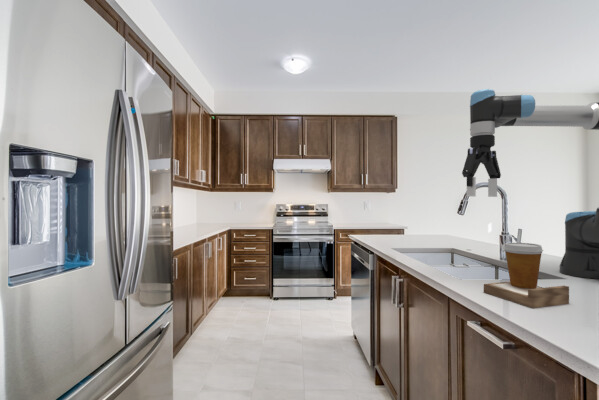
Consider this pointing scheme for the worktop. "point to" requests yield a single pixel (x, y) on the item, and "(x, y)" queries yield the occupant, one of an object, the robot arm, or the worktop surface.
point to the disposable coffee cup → (523, 264)
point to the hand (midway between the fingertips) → (482, 196)
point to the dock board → (529, 294)
